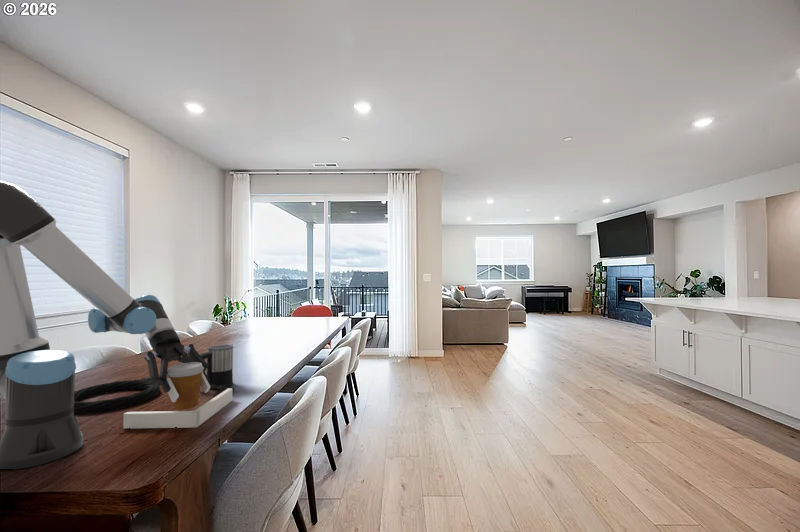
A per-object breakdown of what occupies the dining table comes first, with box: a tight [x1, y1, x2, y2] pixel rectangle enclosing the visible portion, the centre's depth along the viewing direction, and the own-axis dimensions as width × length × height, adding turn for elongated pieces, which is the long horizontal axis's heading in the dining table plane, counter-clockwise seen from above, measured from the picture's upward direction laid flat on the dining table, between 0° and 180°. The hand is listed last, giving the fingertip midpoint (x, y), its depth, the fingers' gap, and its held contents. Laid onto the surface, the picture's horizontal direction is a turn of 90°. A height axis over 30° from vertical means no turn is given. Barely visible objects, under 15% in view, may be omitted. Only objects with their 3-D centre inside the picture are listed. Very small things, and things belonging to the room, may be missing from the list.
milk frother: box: [199, 344, 235, 391], centre depth 136 cm, size 14×16×15 cm
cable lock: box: [74, 376, 161, 415], centre depth 126 cm, size 28×4×30 cm
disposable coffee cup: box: [167, 362, 204, 411], centre depth 109 cm, size 10×10×12 cm
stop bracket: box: [122, 388, 233, 430], centre depth 111 cm, size 22×20×4 cm
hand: (192, 394), depth 107 cm, fingers closed on disposable coffee cup, 9 cm apart
